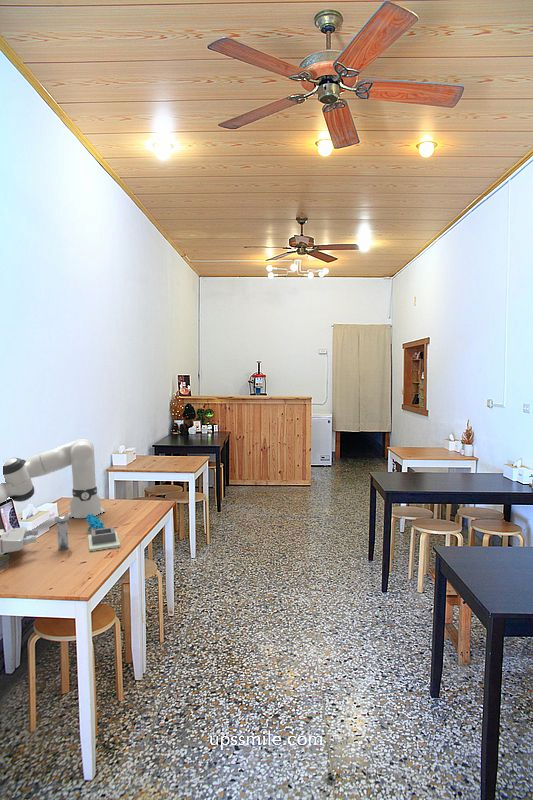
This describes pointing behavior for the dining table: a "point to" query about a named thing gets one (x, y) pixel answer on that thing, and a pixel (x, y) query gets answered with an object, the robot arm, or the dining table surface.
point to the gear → (94, 522)
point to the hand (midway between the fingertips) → (37, 535)
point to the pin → (62, 531)
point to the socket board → (103, 539)
